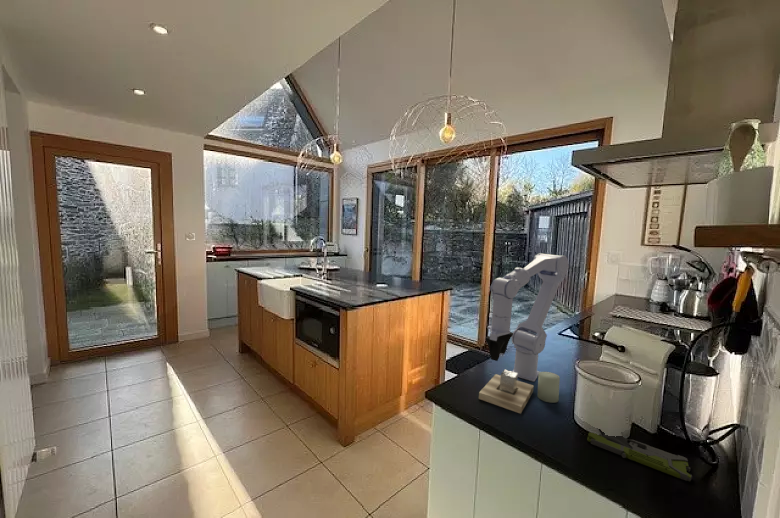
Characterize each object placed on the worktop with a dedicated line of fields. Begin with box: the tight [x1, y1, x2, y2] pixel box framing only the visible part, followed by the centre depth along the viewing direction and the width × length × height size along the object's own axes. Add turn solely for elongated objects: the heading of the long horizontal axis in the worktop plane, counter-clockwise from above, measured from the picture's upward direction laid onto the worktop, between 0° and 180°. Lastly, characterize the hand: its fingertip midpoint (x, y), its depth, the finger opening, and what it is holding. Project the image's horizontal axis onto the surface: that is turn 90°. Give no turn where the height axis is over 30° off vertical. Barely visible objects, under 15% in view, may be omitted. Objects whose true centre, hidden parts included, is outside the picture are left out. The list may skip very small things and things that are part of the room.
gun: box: [586, 432, 693, 482], centre depth 79 cm, size 2×19×15 cm
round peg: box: [536, 371, 561, 404], centre depth 100 cm, size 6×6×7 cm
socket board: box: [478, 373, 535, 415], centre depth 100 cm, size 16×12×2 cm
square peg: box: [500, 369, 519, 395], centre depth 100 cm, size 4×4×7 cm
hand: (497, 356), depth 106 cm, fingers open, 7 cm apart
